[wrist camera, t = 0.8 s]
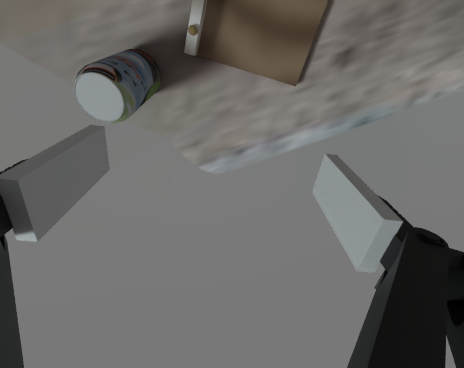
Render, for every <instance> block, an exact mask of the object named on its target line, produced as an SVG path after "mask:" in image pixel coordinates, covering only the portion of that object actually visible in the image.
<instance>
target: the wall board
mask: <svg viewBox="0 0 464 368" xmlns="http://www.w3.org/2000/svg"><path fill="white" fill-rule="evenodd" d="M327 2H328V0H193V2H192V8H191V14H190V19H189V25H188V31H187V37H186V43H185V49H184V53H186V54H189V55H192V56H200V57H203V58H206V59H209V60H213V61H216V62H219V63H222V64H226V65H229V66H232V67H235V68H238V69H242V70H245V71H248V72H251V73H254V74H258V75H261V76H264V77H267V78H271V79H274V80H277V81H280V82H283V83H287V84H290V85H293V86H296V85H297V82H298V79H299V77H300V74H301V71H302V69H303V66H304V63H305V61H306V58H307V55H308V53H309V50H310V47H311V45H312V42H313V40H314V37H315V34H316V32H317V29H318V26H319V24H320V21H321V18H322V16H323V13H324V10H325V8H326V5H327Z"/></svg>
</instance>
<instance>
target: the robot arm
mask: <svg viewBox="0 0 464 368" xmlns="http://www.w3.org/2000/svg"><path fill="white" fill-rule="evenodd" d="M108 170H109V161H108V153H107V145H106V136H105V128H104V126H96V125H89V126H88V127H86V128H84V129H82V130H80V131H79V132H77V133H75V134H73V135H71V136H69V137H68V138H66V139H64V140H62V141H60V142H58V143H57V144H55V145H53V146H51V147H50V148H48V149H46V150H44V151H42V152H41V153H38V154H37V155H35V156H33V157H31V158H29V159H26V160H22V161H20V162H18V163H17V164H14V165H13V166H12V167H9V168H7V169H5V170H4V171H2V172H0V368H24V365H23V357H22V349H21V341H20V334H19V327H18V319H17V312H16V304H15V297H14V289H13V282H12V276H11V275H12V274H11V267H10V260H9V253H8V245H7V241H6V238H5V234H6V233H7V232H8V231H9V230H11V229H12V228H13V231H14V233H15V236H16V239H17V240H23V241H33V242H38V241H39V240H40V239H41V238H42V237H43V236H44V235H45V234H46V233H47V232H48V231H49V229H51V228H52V227H53V226H54V225H55V224H56V223H57V222H58V221H59V220H60V219H61V218H62V217H63V216H64V215H65V214H66V213H67V212H68V211H69V209H71V208H72V207H73V206H74V205H75V204H76V202H77V201H79V200H80V198H81V197H83V195H85V194H86V193H87V191H88V190H90V189H91V188H92V187H93V186H94V185H95V184H96V183H97V182H98V181H99V180H100V178H101V177H103V176H104V174H105V173H107V171H108ZM312 193H313V194H314V196H315V198H316V200H317V202H318V203H319V205H320V207H321V208H322V210H323V212H324V214H325V216H326V217H327V219H328V221H329V223H330V224H331V226H332V228H333V230H334V231H335V233H336V235H337V237H338V238H339V240H340V242H341V244H342V246H343V247H344V249H345V251H346V253H347V254H348V256H349V258H350V260H351V261H352V263H353V265H354V267H355V268H356V270H357V271H361V272H372V273H374V272H375V270H376V268H377V267H378V265H379V263H380V262H381V264H382V265H383V266H384V268H385V271H384V272H383V274H382V276H381V277H380V279H379V281H378V282H377V284H376V286H375V289H376V292H375V294H374V297H373V300H372V303H371V305H370V308H369V310H368V313H367V316H366V318H365V321H364V324H363V327H362V329H361V332H360V334H359V337H358V340H357V343H356V345H355V348H354V351H353V353H352V356H351V359H350V361H349V364H348V367H347V368H445V356H446V335H447V339H448V342H449V345H450V348H451V352H452V355H453V358H454V362H455V365H456V368H464V252H461V251H458V250H454V249H451V248H449V247H448V244H447V243H446V242H445V240H444V239H442V238H441V237H439V236H438V235H437V234H435V233H432V232H430V231H428V230H425V229H422V228H417V227H413V226H412V225H411V224H410V223H409V222H408V221H407V220H406V219H405V218H404V217H403V216H402V215H400V214H399V213H398V212H397V211H396V210H395V209H394V208H393V207H392V206H391V205H390V204H389V203H388V202H387V201H386V200H384V199H383V198H381V197H380V196H378V195H376V194H375V193H374V192H373V191H372V190H371V189H370V188H369V187H368V186H367V185H366V184H365V183H364V182H363V181H362V180H361V179H360V178H359V177H358V176H357V175H356V174H355V173H354V172H353V171H352V170H351V169H350V168H349V167H348V166H347V165H346V164H345V163H344V162H343V161H342V160H341V159H340V158H339V157H338V156H337V155H331V154H325V155H324V158H323V161H322V164H321V167H320V171H319V174H318V176H317V180H316V183H315V186H314V189H313V192H312Z"/></svg>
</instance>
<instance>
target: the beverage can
mask: <svg viewBox="0 0 464 368" xmlns="http://www.w3.org/2000/svg"><path fill="white" fill-rule="evenodd" d="M160 83H161V75H160V70H159V68H158V66H157V64H156V62H155V61H154V60H153V58H152V57H151V56H149V55H148V54H147V53H145V52H143V51H141V50H138V49H128V50H125V51H123V52H120V53H117V54H115V55H112V56H109V57H106V58H104V59H101V60H98V61H96V62H93V63H90V64H88V65H86V66H84V67H83V68H82V69H81V70H80V71H79V73H78V75H77V77H76V81H75V84H74V95H75V99H76V101H77V103H78V105H79V106H80V107H81V109H82V110H83V111H84V112H85V113H86V114H87V115H89V116H90V117H91V118H93V119H95V120H97V121H100V122H112V123H116V122H121V121H124V120H126V119H127V118H129V117H130V116H131V115H132V114H133V113H134V112H135V111H136V110H137V109H138V108H139V107H140V106H142V105H143V104H144V103H145V102H146V101H147V100H148V99H149V98H150V97H151V96H152V95H153V94H154V93H155V92H156V91H157V90H158V89H159V86H160Z"/></svg>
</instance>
